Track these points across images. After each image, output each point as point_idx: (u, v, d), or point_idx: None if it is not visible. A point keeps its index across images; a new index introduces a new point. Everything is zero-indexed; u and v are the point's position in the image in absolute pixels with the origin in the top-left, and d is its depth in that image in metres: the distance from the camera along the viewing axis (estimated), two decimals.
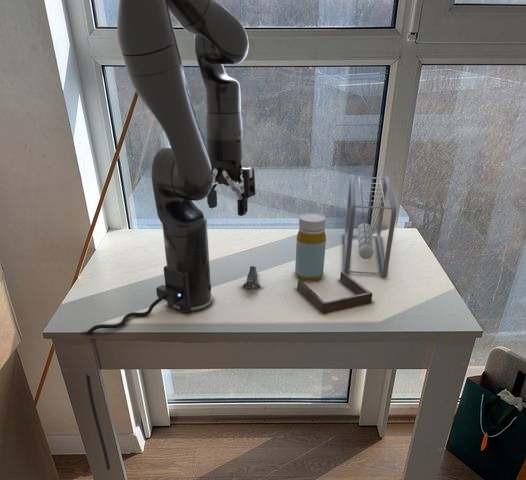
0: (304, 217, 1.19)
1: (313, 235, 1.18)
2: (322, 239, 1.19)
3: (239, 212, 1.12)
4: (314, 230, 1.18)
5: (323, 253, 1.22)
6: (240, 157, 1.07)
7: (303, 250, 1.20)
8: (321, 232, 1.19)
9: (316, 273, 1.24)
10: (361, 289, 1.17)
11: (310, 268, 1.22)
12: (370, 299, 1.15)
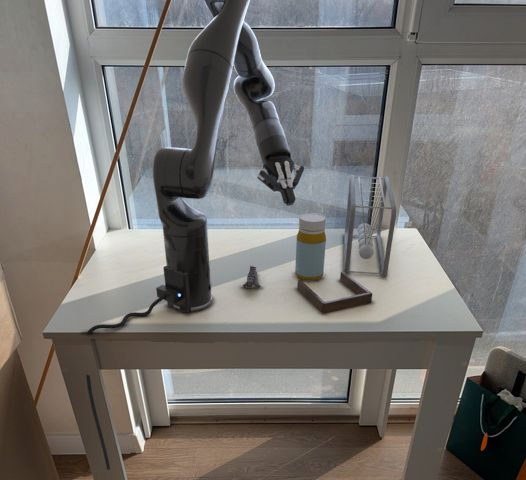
0: (304, 217, 1.19)
1: (313, 235, 1.18)
2: (322, 239, 1.19)
3: (292, 198, 1.27)
4: (314, 230, 1.18)
5: (323, 253, 1.22)
6: None
7: (303, 250, 1.20)
8: (321, 232, 1.19)
9: (316, 273, 1.24)
10: (361, 289, 1.17)
11: (310, 268, 1.22)
12: (370, 299, 1.15)
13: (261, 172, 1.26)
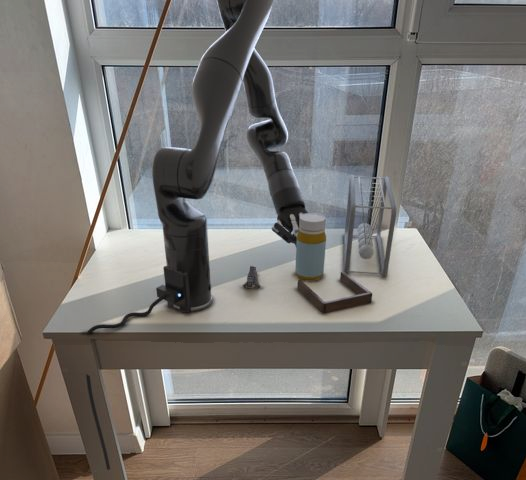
0: (304, 217, 1.19)
1: (313, 235, 1.18)
2: (322, 239, 1.19)
3: None
4: (314, 230, 1.18)
5: (323, 253, 1.22)
6: None
7: (303, 250, 1.20)
8: (321, 232, 1.19)
9: (316, 274, 1.24)
10: (361, 289, 1.17)
11: (310, 268, 1.22)
12: (370, 299, 1.15)
13: (276, 225, 1.25)
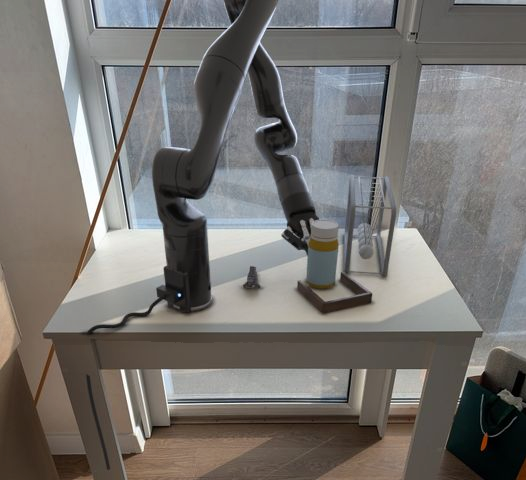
0: (316, 224, 1.15)
1: (326, 242, 1.14)
2: (335, 246, 1.16)
3: None
4: (327, 237, 1.14)
5: (336, 260, 1.18)
6: None
7: (316, 258, 1.17)
8: (334, 239, 1.15)
9: (329, 282, 1.20)
10: (361, 289, 1.17)
11: (323, 276, 1.19)
12: (370, 299, 1.15)
13: (286, 231, 1.21)
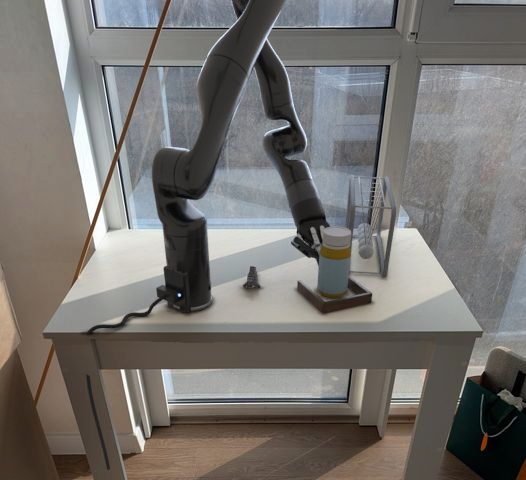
0: (328, 231, 1.11)
1: (339, 250, 1.11)
2: (348, 254, 1.12)
3: None
4: (340, 245, 1.10)
5: (348, 269, 1.15)
6: None
7: (328, 266, 1.13)
8: (347, 247, 1.11)
9: (341, 290, 1.16)
10: (361, 289, 1.17)
11: (335, 285, 1.15)
12: (370, 299, 1.15)
13: (296, 239, 1.17)
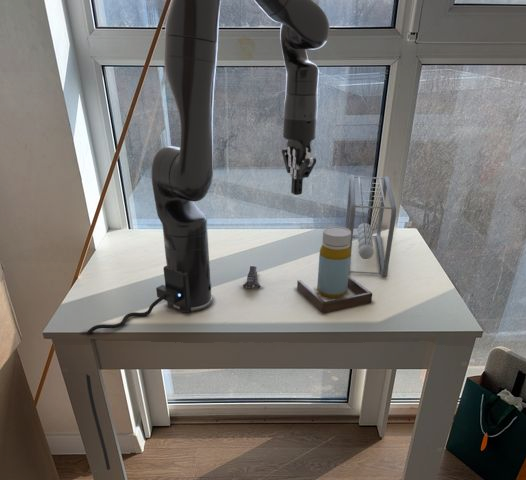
0: (328, 232, 1.11)
1: (339, 250, 1.11)
2: (348, 254, 1.12)
3: (293, 191, 1.22)
4: (340, 245, 1.10)
5: (348, 269, 1.15)
6: (309, 138, 1.13)
7: (328, 266, 1.13)
8: (347, 247, 1.11)
9: (341, 290, 1.16)
10: (361, 289, 1.17)
11: (335, 285, 1.15)
12: (370, 299, 1.15)
13: (282, 151, 1.22)
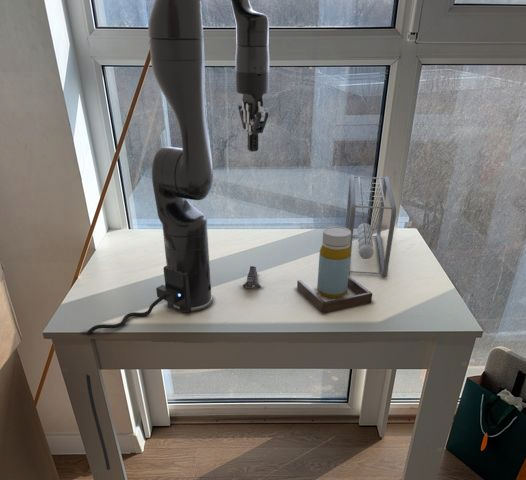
0: (328, 232, 1.11)
1: (339, 250, 1.11)
2: (348, 254, 1.12)
3: (249, 147, 1.22)
4: (340, 245, 1.10)
5: (348, 269, 1.15)
6: (261, 91, 1.13)
7: (328, 266, 1.13)
8: (347, 247, 1.11)
9: (341, 290, 1.16)
10: (361, 289, 1.17)
11: (335, 285, 1.15)
12: (370, 299, 1.15)
13: (238, 107, 1.22)
